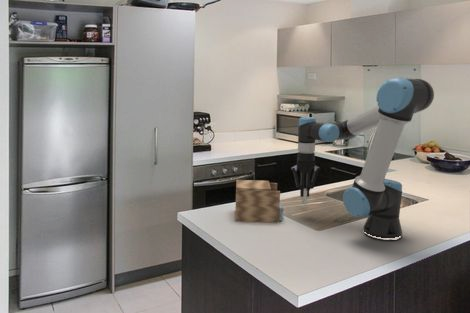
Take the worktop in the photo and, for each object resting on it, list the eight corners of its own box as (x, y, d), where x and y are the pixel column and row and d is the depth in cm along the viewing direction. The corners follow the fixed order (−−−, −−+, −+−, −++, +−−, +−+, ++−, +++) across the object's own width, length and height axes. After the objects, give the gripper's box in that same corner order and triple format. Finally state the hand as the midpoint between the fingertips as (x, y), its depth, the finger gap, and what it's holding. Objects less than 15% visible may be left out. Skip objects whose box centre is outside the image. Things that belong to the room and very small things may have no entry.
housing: (275, 211, 200) (277, 181, 197) (278, 222, 185) (280, 189, 182) (235, 210, 200) (236, 179, 197) (235, 221, 185) (236, 187, 182)
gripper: (319, 151, 192) (317, 201, 195) (290, 150, 191) (288, 201, 195) (322, 153, 184) (320, 205, 188) (292, 153, 184) (291, 205, 188)
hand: (304, 203), depth 191 cm, fingers closed
